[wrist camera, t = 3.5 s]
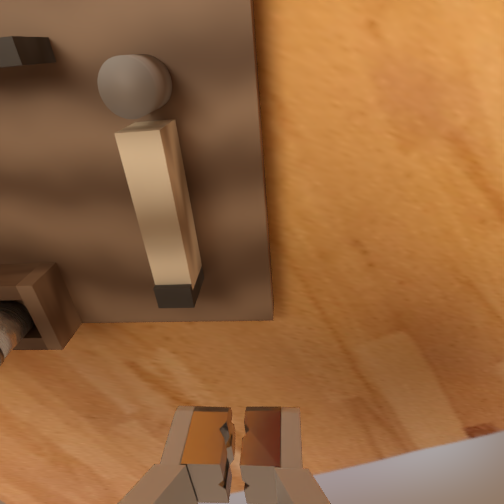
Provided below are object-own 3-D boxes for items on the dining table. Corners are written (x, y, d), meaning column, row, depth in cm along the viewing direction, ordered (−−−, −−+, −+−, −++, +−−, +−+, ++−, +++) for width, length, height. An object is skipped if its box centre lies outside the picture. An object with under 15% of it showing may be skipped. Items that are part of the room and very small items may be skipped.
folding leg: (116, 56, 19) (85, 58, 16) (166, 51, 19) (144, 52, 16) (169, 278, 26) (155, 308, 23) (206, 278, 26) (197, 307, 23)
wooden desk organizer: (-139, -24, 20) (-254, -42, 16) (247, -76, 18) (236, -115, 13) (30, 308, 32) (-9, 349, 28) (273, 304, 30) (271, 348, 25)
